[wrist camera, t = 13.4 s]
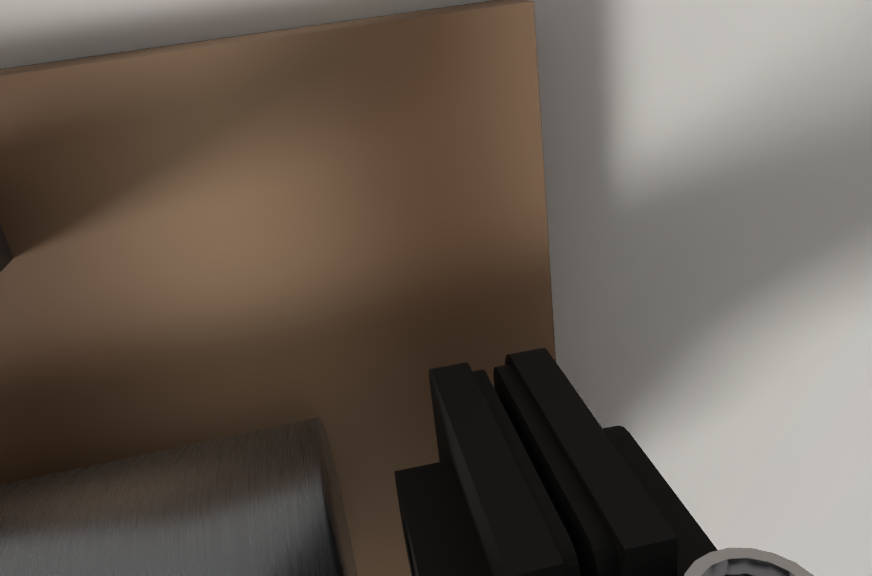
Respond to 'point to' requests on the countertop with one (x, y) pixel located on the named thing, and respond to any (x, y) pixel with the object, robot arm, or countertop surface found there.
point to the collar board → (271, 243)
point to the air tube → (186, 512)
